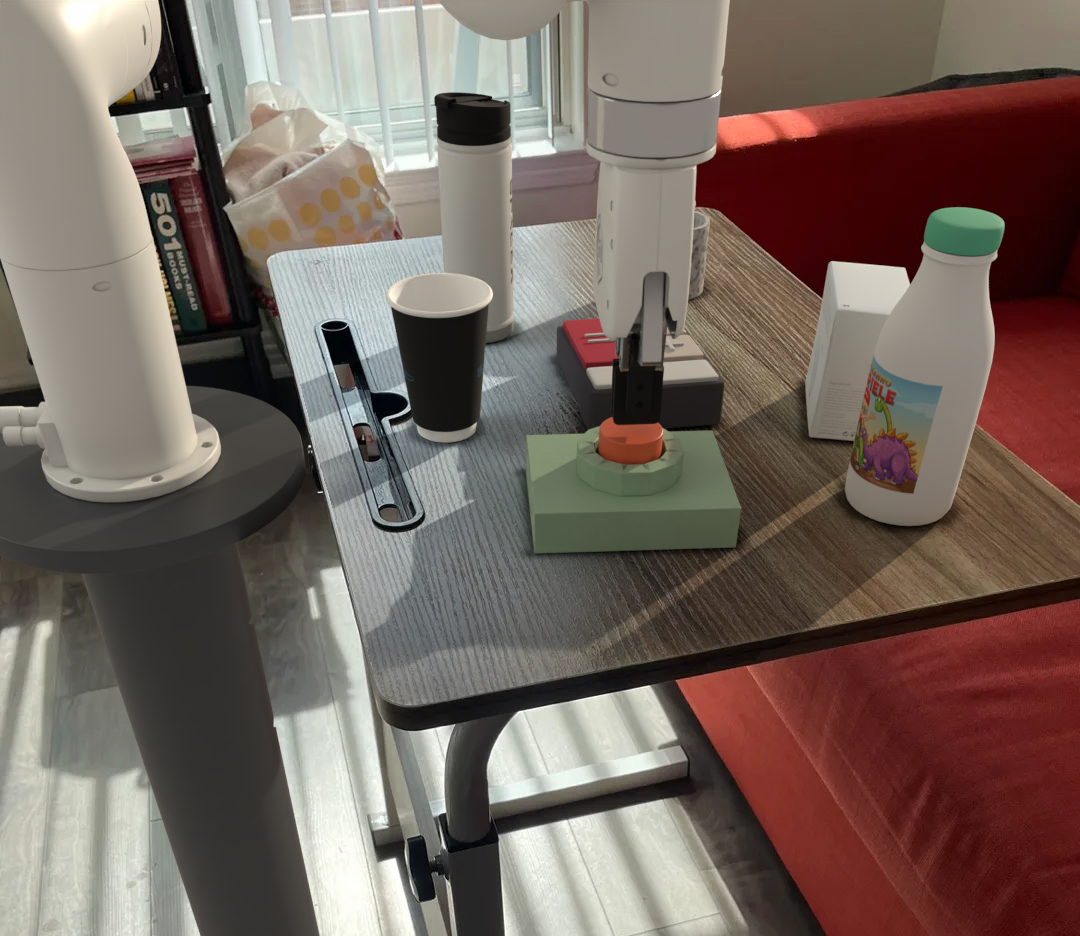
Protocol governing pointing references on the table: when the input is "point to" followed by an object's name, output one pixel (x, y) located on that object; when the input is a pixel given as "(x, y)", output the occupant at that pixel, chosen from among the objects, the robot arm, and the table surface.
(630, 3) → the robot arm
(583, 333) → the calculator
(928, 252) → the milk bottle
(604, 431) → the push button
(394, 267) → the table surface
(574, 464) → the button housing
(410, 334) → the dixie cup
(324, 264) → the table surface
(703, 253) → the mug
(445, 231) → the travel mug
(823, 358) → the cosmetics box
